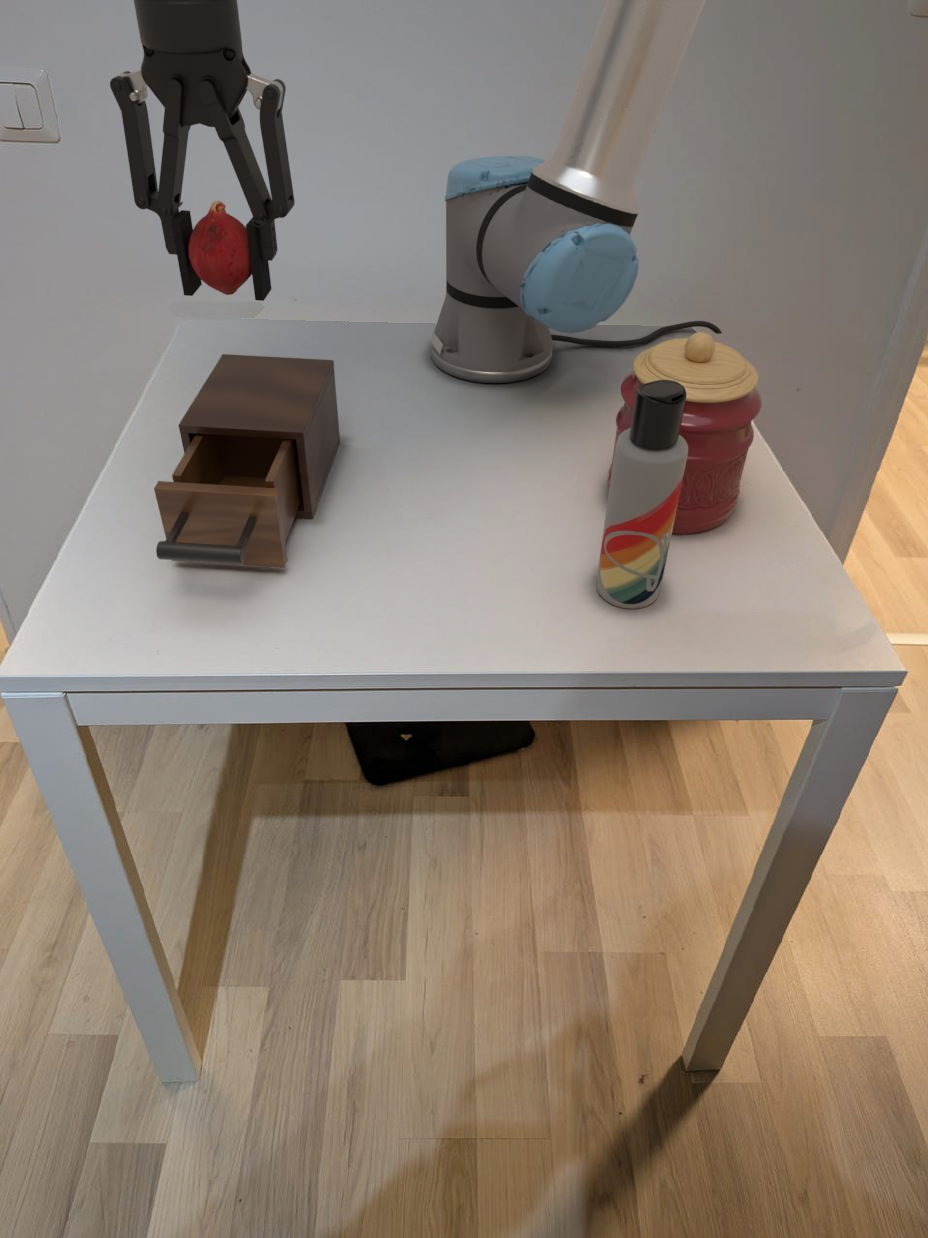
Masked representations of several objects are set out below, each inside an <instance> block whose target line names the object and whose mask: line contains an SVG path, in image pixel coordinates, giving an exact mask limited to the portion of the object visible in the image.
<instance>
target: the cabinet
mask: <svg viewBox="0 0 928 1238" xmlns="http://www.w3.org/2000/svg"><path fill="white" fill-rule="evenodd" d="M336 387H337V386H336V374H335V361H334V360H333V359H322V358H321V359H319V358H301V357H284V356H283V357H282V356H265V355H249V354H248V355H247V354H246V355H245V354H228V353H223V354H221V356H220V358H219V359H218V360H217V362H216V364H215V366H214V367H213V369H212V371H211V372H210V374H209V375H208V377H207V378H206V380H205V382H204V383H203V385H202V387H200V390H199V391H198V393H197V394H196V396H195V398H194V399H193V401H192V403H191V404H190V406H189V407H188V409H187V411H186V412H185V413H184V415H183V417H182V418H181V420H180V422H179V423H178V430H179V434H180V439H181V445H182V448H183V449H182V450H183V453H184V454H185V452H186V450H187V449H188V447H189V445H190V443H191V442H192V440H193V438H194V437H195V435H196V434H212V435H229V436H246V437H263V438H280V439H296V445H297V454H298V462H299V471H300V479H301V488H302V496H303V497H302V499H301V502H300V505H299V507H298V510H297V512H296V515H295V518H294V519H309V520H310V519H311V520H313V519H314V517H315V514H316V511H317V509H318V505H319V503H320V499H321V498H322V494H323V491H324V489H325V486H326V484H327V480H328V478H329V474H330V472H331V469H332V466H333V464H334V460H335V457H336V454H337V452H338V449H339V447H340V443H341V436H340V423H339V422H340V421H339V414H338V413H339V412H338V411H339V410H338V399H337V398H338V397H337V388H336ZM184 454H183V455H184Z"/></svg>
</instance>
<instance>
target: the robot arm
mask: <svg viewBox="0 0 928 1238" xmlns="http://www.w3.org/2000/svg"><path fill="white" fill-rule="evenodd" d="M706 2H707V0H606V2H605V4H604V7H603V9H602V10H603V11H602V14H601V16H600V19H599V22H598V25H597V28H596V31H595V33H594V37H593V39H592V42H591V45H590V47H589V51H588V54H587V56H586V59H585V63H584V65H583V68H582V71H581V74H580V77H579V79H578V83H577V85H576V89H575V91H574V95H573V96H572V99H571V103H570V106H569V108H568V112H567V115H566V117H565V120H564V123H563V126H562V128H561V132H560V134H559V137H558V140H557V143H556V146H555V149H554V152H553V154H552V156H551V157H549V159H547V160H545V159H543V158H541V157H535V156H527V155H526V156H525V155H497V156H484V157H476V158H472V159H467V160H463V161H460V162H458V163H456V164H455V165H453V166H452V167H451V169H450V170H449V172H448V174H447V178H446V179H447V181H446V191H445V196H444V202H445V249H446V250H445V277H446V279H445V281H446V283H445V285H446V287H445V288H446V289H445V297H444V300H443V303H442V307H441V308H440V313H439V316H438V317H437V320H436V324H435V327H434V330H433V332H432V335H431V338H430V343H431V344H430V345H431V349H430V351H431V352H430V353H431V359H432V361H433V363H434V364H435V365H436V366H437V367H438V368H439V369H440V370H442V371H443V372H444V373H446V374H448V375H451V376H453V377H455V378H458V379H462V380H465V381H471V382H476V383H483V384H484V383H485V384H506V383H507V384H508V383H514V382H519V381H520V382H521V381H524V380H528V379H530V378H533V377H535V376H539V375H540V374H542V373H543V372H545V371H546V370H547V369H548V368H549V366H550V365H551V363H552V360H553V351H554V350H553V348H554V347H553V341H556V342H562V343H570V344H575V345H581V346H596V347H611V348H612V347H616V348H617V347H631V346H638V345H643V344H646V343H648V342H650V341H653V340H654V339H655V338H657V337H659V336H660V335H663V334H665V333H667V332H668V333H669V332H673V331H678V330H684V329H688V328H689V329H690V328H697V327H702V328H707V329H709V330H711V331H712V332H713V333H714V334H718V335H720V334H722V330H721V329H720V328H719V327H718V326H717V325H716V324H714V323H712V322H710V321H705V320H693V321H692V320H691V321H687V322H680V323H676V324H670V325H665V326H662V327H660V328H658V329H656V330H654V331H653V332H651V333H649V334H647V335H645V336H642V337H640V338H635V339H625V340H603V339H590V338H589V339H588V338H579V337H574V336H568V335H562V334H561V335H560V334H552V333H551V330H553V331H556V332H559V333H563V334H564V333H565V334H577V333H582V332H585V331H589V330H592V329H594V328H595V327H596V326H598V324H599V323H601V322H606V321H607V320H608V319H610V318H611V317H612V316H614V314H615V313H617V312H618V310H619V309H620V308H621V307H622V305H624V303H625V302H626V300H627V299H628V297H629V296H630V294H631V293H632V290H633V288H634V286H635V284H636V280H637V278H638V272H639V265H640V259H639V258H638V256H637V253H638V249H637V247H636V246H637V245H636V244H635V242H634V240H633V239H632V236H631V233H632V230H633V228H634V225H635V222H636V220H637V217H638V215H639V212H640V206H639V204H638V201H637V197H636V196H635V193H634V185H635V182H636V180H637V177H638V175H639V172H640V170H641V167H642V165H643V161H644V159H645V156H646V154H647V151H648V149H649V147H650V143H651V141H652V138H653V136H654V134H655V131H656V129H657V126H658V123H659V121H660V118H661V116H662V113H663V110H664V108H665V106H666V103H667V101H668V98H669V95H670V92H671V91H672V88H673V86H674V83H675V81H676V79H677V78H676V77H677V75H678V72H679V70H680V67H681V65H682V63H683V60H684V57H685V55H686V53H687V50H688V47H689V44H690V41H691V40H692V37H693V35H694V32H695V30H696V27H697V24H698V22H699V19H700V17H701V14H702V13H703V12H702V11H703V9H704V7H705V4H706ZM133 4H134V5H133V6H134V10H135V16H136V22H137V27H138V33H139V39H140V43H141V47H142V49H143V58H142V62H141V66H140V69H138V70H136V71H135V70H134V71H132V72H131V71H128V70H125V71H123V72H122V73H120V74H118V75H116V76H114V77H112V78H111V79H110V81H109V87H110V89H111V92H112V94H113V96H114V98H115V100H116V103H117V105H118V107H119V109H120V112H121V113H120V114H121V119H122V127H123V132H124V140H125V145H126V152H127V153H126V154H127V160H128V166H129V167H128V168H129V173H130V179H131V181H130V182H131V187H132V192H133V193H132V195H133V200H134V203H135V205H136V207H137V208H138V209H139V210H140V209H141V210H149V211H151V212H153V213H155V214H156V215H157V216H158V217H159V219H160V224H161V228H162V235H163V240H164V245H165V249H166V252H167V253H168V255H176V258H177V263H178V269H179V274H180V279H181V284H182V285H181V286H182V290H183V296H188V297H193V296H194V295H195V293H196V292H197V291H198V290H199V288H200V287H201V286H202V284H203V283H202V282H203V281H202V280H201V279H200V278H199V276H198V275H197V273H196V272H195V270H194V269H193V268H192V265H191V262H190V259H189V253H188V246H189V241H190V237H191V234H192V231H193V229H194V227H193V222H192V221H193V220H192V215H191V210H186V209H184V210H183V209H181V210H180V209H179V208H180V207H181V206H182V205H183V203H184V201H181V200H182V191H183V184H184V175H185V166H186V157H187V149H188V140H189V133H190V130H191V128H192V126H194V125H203V126H206V127H209V128H214V129H215V132H216V134H217V137H218V138H219V140H220V141H221V143H223V146H224V148H225V150H226V153H227V155H228V158H229V160H230V163H231V165H232V168H233V170H234V173H235V175H236V178H237V180H238V182H239V185H240V187H241V191H242V193H243V196H244V198H245V200H246V203H247V205H248V209H249V211H250V212H251V216H252V217H251V218H250V219H249V221H248V222H247V223H246V224H245V227H246V230H247V238H248V246H249V254H250V262H251V270H252V275H251V276H252V284H253V292H254V300H255V301H259V302H260V301H261V302H264V301H265V300H266V298H267V296H268V295H269V294H270V292H271V291H272V283H271V282H272V281H271V280H272V279H271V272H270V263H269V262H270V261H271V262H272V261H273V260H274V258H275V257H276V256H277V253H278V240H277V231H276V220H277V219H284V218H285V217H287V215H288V214H289V213H290V212H291V211H292V209H293V208H294V206H295V196H294V195H295V194H294V188H293V180H292V174H291V173H292V172H291V168H290V160H289V153H288V145H287V139H286V132H285V126H284V125H285V124H284V118H283V107H284V102H285V96H286V91H287V90H286V84H285V82H284V81H283V80H281V79H280V78H275V79H273V80H269V79H266V78H263V77H261V76H259V75H256V74H253V73H252V71H251V67H250V66H249V64H248V63H247V61H246V58H245V57H244V56H245V55H244V51H243V41H242V32H241V24H240V13H239V5H238V0H133ZM148 88H149V89H150V91H151V93H153V95H154V96H155V98H156V99H157V100H158V101H159V102H160V103H161V105H162V106H163V108H164V113H163V123H162V133H163V140H162V141H163V143H162V151H161V152H162V153H161V162H160V170H159V183H158V180H157V179H158V178H157V172H156V171H157V170H156V163H155V157H154V148H153V142H152V134H151V133H152V132H151V127H150V125H151V124H150V119H149V112H148V111H149V110H148V105H147V102H146V100H147V99H148V95H149V94H148ZM247 92H249V93H250V95H251V97H252V101H253V102H252V103H253V106H254V107H255V108H256V109H257V110H259V127H260V134H261V140H262V146H263V147H262V148H263V152H264V159H265V166H266V172H267V178H268V184H269V189H268V186H267V184H266V181H265V179H264V176H263V174H262V173H263V172H262V171H261V169H260V168H261V167H260V165H259V163H258V160H257V157H256V155H255V152H254V150H253V147H252V145H251V141H250V140H249V137H248V134H247V132H246V124H245V121H244V118H243V115H242V112H241V110H240V105H241V102H242V101H243V99H244V98H245V95H246V93H247ZM269 191H270V192H269ZM550 329H551V330H550Z"/></svg>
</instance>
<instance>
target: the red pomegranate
mask: <svg viewBox="0 0 928 1238" xmlns="http://www.w3.org/2000/svg"><path fill="white" fill-rule="evenodd" d="M188 253H189V259H190V262H191V265H192V268H193V269H194V270H195V272H196V273H197V275H198V276H199V278H200V279H201V282H203V283H204V284H205V285H206V286H208V287H210V288H211V289H213V290H215V291H218V293H219V292H220V293H222V294H223V295H226V296H230V295H234V294H235V293H236V292H237V291H238V290H239V288H241V287H242V286H243V285H244V284H245V283H246V282H247V281H248V280H249V279H250V277H251V276H252V270H251V262H250V254H249V246H248V238H247V230H246V225H244V224H243V223H242V222H241V221H240V220H239V219H237V218H236V217H235V216H233V215H231V214H229V213H227V211H226V204H225V203H224V202H222V201H220V200H215V201H213V202H212V203H211V205H210V207H209V210H208V212H207V213H206V215H204V216H203V217H201V219H199V221H197V222H196V224H195V226H194V227H193V231H192V234H191V237H190V241H189V246H188Z"/></svg>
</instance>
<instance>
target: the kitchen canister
mask: <svg viewBox="0 0 928 1238" xmlns="http://www.w3.org/2000/svg"><path fill="white" fill-rule="evenodd" d="M632 369H633V370H632V371H631V372H629V373H628V374H627V375H626V376H625V377H624V378H623V380H622V382H621V385H620V395H621V397H622V400H623V404H622V406H621V407H620V409H619V410H618V412H617V413H616V414H617V415H616V419H615V425H616V432H615V439H614V445H613V452H612V460H611V464H610V465H609V468H608V476H607V488H608V490H609V489H610V482H611V475H612V468H613V461H614V454H615V448H616V442H617V439H618V437H619V435H620V434H621V433H622V432H624V431H625V430H627V429H629V428H631V421H632V414H633V408H634V401H635V395H636V390H637V388H638V387H639V386H641V385H643V384H646V383H649V382H652V381H658V380H671V381H675V382H678V383H680V384H681V385H682V386H683V387H684V388H685V390H686V394H687V395H686V402H685V407H684V412H683V417H682V423H681V428H680V433H679V435H680V436H682V437H683V438H684V439H685V441H686V442H687V445H688V455H687V460H686V466H685V471H684V476H683V481H682V485H681V490H680V495H679V500H678V505H677V510H676V515H675V520H674V525H673V530H672V534H694V533H701V532H705V531H710V530H711V529H714V528H716V527H718V526H720V525H722V524H723V523H724V522H726V521H727V520H728V519H729V517H730V516H731V514H732V512H733V509H734V508H735V507H736V504H737V503H738V500H739V495H740V491H741V480H742V476H743V473H744V468H745V466H746V465H745V464H746V460H747V457H748V453H749V450H750V449H749V448H750V447H751V446H752V444H753V442H754V437H755V433H754V428H753V427H754V426H752V422H753V420H754V419H755V418H756V417H757V416H758V415H759V414H760V412H761V409H762V407H763V406H762V405H763V400H762V396H761V394H760V392H759V391H758V389H757V388H756V387H757V385H758V382H759V373H758V371H757V369H756V368H755V366H754V365H753V364H752V363H751V362H750V361H748V360H747V359H746V358H745V357H743V355H742V354H741V353H740V352H739V351H737V350H735V349H734V348H732V347H730V346H728V345H726V344H724V343H721V342H717V341H715V339H714V338H713V336H711V334H709V333H708V332H705V331H698V332H694V333H693V334H691V335H690V336H689V337H681V338H673V339H669V340H664V341H662V342H660V343H658V344H657V345H654V346H652V347H649V348H646V349H644V350H643V351H641V352H640V353H639V354H638V355H636V357H635V359H634V361H633V365H632Z"/></svg>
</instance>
